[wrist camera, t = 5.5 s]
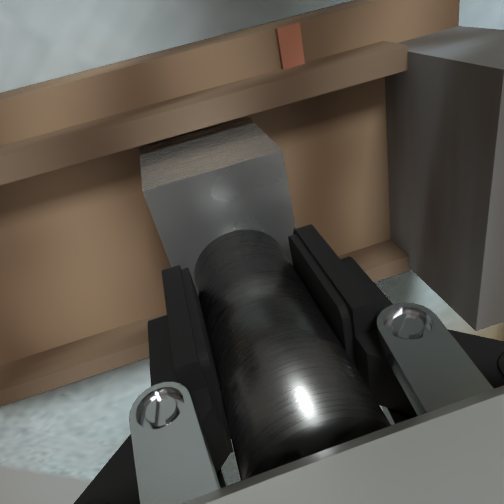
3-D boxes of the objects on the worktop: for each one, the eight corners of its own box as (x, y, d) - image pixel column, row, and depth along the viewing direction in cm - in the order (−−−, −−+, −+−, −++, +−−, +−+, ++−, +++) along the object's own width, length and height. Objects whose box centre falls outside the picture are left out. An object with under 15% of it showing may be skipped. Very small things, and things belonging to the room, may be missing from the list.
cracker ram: (248, 117, 15) (429, 294, 6) (281, 272, 19) (423, 527, 10) (139, 148, 15) (157, 387, 6) (194, 300, 19) (258, 592, 10)
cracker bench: (427, -19, 17) (624, -30, 10) (423, 237, 23) (542, 334, 17) (-221, 151, 15) (-522, 282, 8) (-26, 383, 21) (-98, 564, 14)
